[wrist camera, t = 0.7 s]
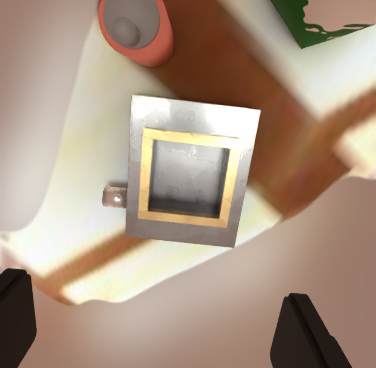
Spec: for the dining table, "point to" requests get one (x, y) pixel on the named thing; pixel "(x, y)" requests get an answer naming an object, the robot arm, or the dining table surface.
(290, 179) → the dining table surface
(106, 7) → the oil can
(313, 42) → the milk carton
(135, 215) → the grey square socket base
